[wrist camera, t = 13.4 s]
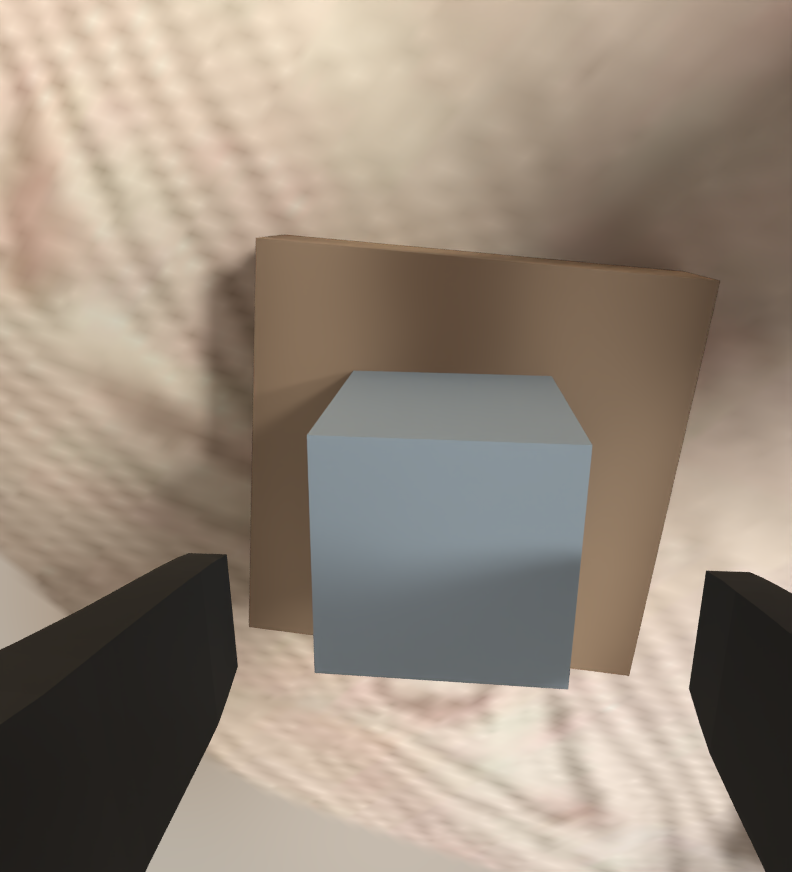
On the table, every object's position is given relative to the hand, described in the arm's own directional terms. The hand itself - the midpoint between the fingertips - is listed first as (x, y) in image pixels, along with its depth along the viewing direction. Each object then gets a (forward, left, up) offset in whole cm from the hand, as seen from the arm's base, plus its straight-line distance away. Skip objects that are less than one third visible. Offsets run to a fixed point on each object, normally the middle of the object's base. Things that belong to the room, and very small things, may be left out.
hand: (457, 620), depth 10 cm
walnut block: (0, 0, -9) cm, 9 cm away
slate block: (0, 0, -6) cm, 6 cm away
